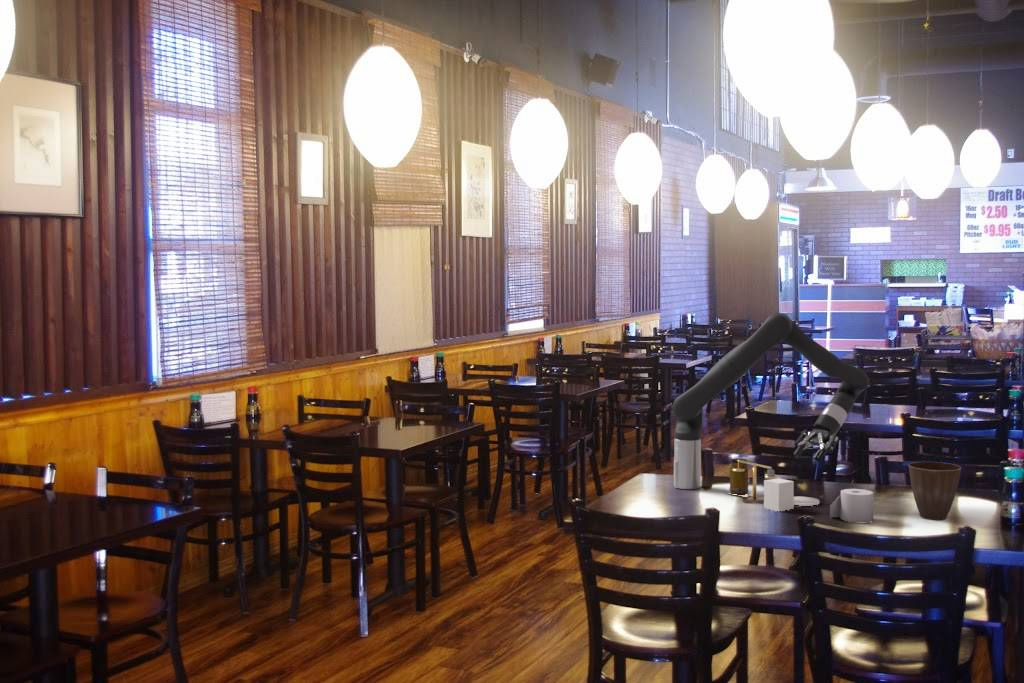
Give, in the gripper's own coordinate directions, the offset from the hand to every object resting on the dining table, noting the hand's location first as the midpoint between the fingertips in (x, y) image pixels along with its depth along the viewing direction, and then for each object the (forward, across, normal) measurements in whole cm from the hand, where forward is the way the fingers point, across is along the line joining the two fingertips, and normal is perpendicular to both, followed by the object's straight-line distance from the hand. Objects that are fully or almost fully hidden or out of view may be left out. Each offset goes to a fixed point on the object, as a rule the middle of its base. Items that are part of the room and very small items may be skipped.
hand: (805, 458), depth 336 cm
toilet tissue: (+14, +23, +8) cm, 28 cm away
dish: (+10, -2, +11) cm, 15 cm away
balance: (+18, -12, +3) cm, 22 cm away
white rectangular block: (+19, 0, +2) cm, 19 cm away
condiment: (+15, -23, +6) cm, 29 cm away
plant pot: (-2, +34, +25) cm, 42 cm away
